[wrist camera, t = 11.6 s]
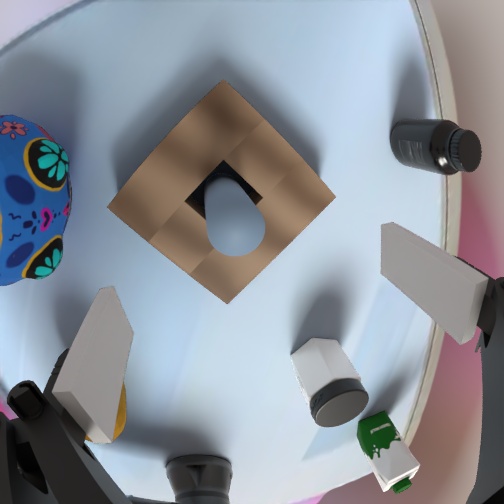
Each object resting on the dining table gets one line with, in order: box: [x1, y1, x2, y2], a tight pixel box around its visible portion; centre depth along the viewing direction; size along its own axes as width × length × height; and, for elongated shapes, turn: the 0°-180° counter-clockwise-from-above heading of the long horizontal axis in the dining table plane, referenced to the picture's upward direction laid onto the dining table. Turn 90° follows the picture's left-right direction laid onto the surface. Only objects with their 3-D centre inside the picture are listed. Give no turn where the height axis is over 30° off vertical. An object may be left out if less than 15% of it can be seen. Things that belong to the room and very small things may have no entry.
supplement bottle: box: [391, 119, 482, 175], centre depth 30 cm, size 7×7×12 cm
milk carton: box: [357, 411, 420, 493], centre depth 51 cm, size 9×9×20 cm
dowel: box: [204, 173, 265, 256], centre depth 28 cm, size 4×4×15 cm
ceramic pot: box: [0, 115, 72, 286], centre depth 23 cm, size 18×18×15 cm
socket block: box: [107, 79, 336, 304], centre depth 32 cm, size 17×17×5 cm
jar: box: [291, 338, 369, 427], centre depth 41 cm, size 9×8×12 cm
